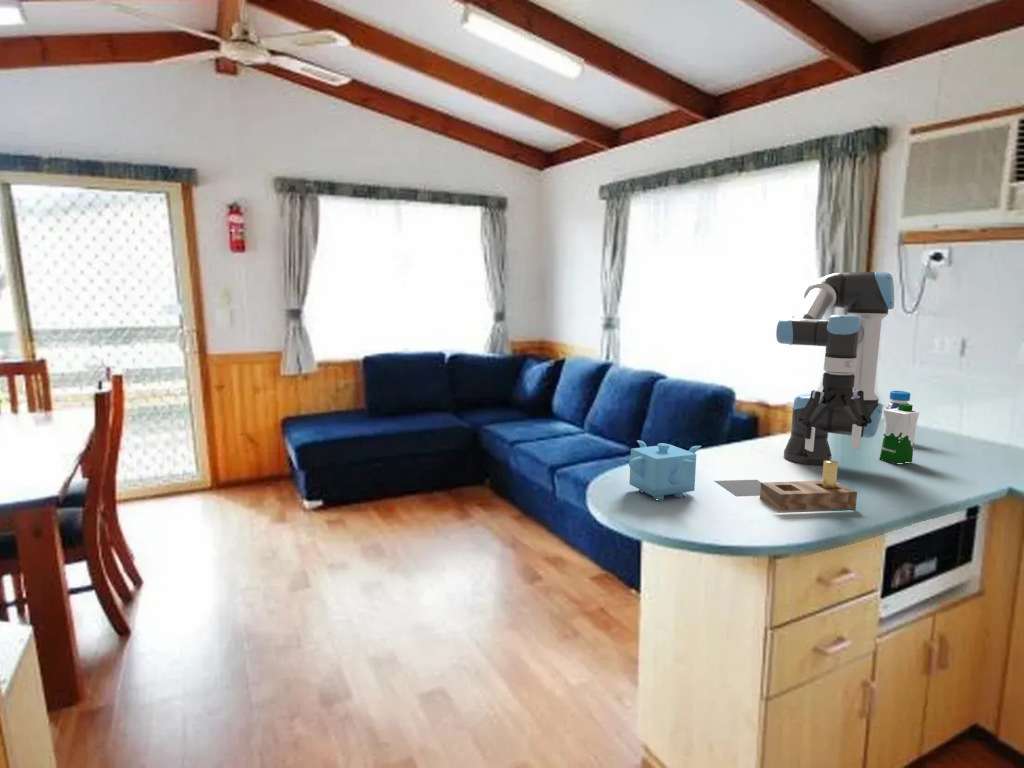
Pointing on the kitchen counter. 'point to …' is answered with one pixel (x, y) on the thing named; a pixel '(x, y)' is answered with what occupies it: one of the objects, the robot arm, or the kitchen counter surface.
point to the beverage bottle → (898, 399)
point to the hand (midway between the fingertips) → (832, 449)
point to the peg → (829, 475)
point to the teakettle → (663, 469)
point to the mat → (742, 487)
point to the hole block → (806, 496)
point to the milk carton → (899, 434)
